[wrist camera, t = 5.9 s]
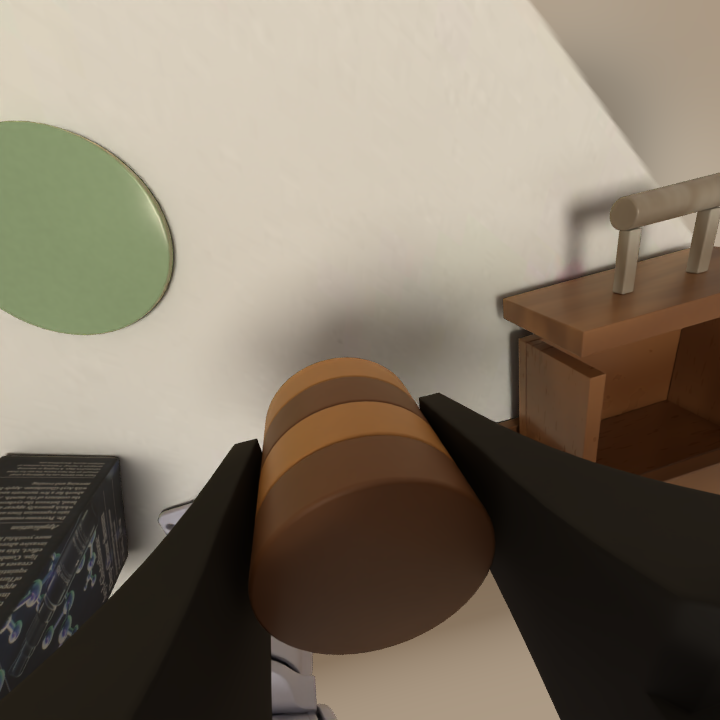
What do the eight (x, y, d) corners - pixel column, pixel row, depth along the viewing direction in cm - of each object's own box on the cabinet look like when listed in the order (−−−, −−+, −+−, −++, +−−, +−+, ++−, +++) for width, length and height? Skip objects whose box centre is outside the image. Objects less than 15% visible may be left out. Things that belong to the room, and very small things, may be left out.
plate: (203, 306, 17) (200, 309, 16) (26, 351, 16) (18, 355, 16) (116, 103, 13) (109, 98, 13) (-115, 149, 13) (-132, 147, 12)
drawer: (500, 215, 17) (592, 218, 12) (717, 161, 18) (890, 142, 13) (506, 445, 23) (569, 512, 18) (667, 395, 24) (770, 445, 19)
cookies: (418, 461, 12) (497, 614, 7) (287, 497, 11) (287, 683, 7) (403, 340, 10) (497, 448, 5) (245, 377, 10) (206, 528, 5)
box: (132, 552, 22) (15, 809, 13) (27, 556, 21) (-191, 847, 11) (123, 453, 19) (-39, 689, 10) (1, 451, 18) (-323, 721, 8)
